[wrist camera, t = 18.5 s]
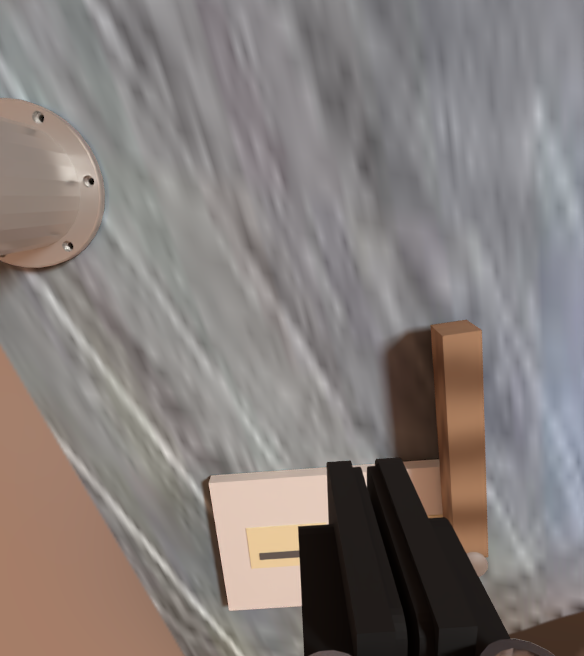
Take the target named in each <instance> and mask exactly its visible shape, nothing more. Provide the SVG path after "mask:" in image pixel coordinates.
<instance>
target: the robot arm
mask: <svg viewBox="0 0 584 656" xmlns="http://www.w3.org/2000/svg"><path fill="white" fill-rule="evenodd" d="M43 116H44V121H42V117H43ZM91 179H94V185H92V184H91ZM104 209H105V189H104V183H103V177H102V174H101V171H100V168H99V165H98V162H97V160H96V158H95V156H94V154H93V152H92V150H91V148H90V147H89V145H88V144H87V143H86V141H85V140H84V139H83V137H82V136H81V135H80V133H79V132H78V131H77V130H76V129H75V128H73V127H72V126H71V125H70V124H69V123H68V122H67V121H66V120H64V119H63V118H61V117H60V116H58V115H57V114H55V113H54V112H52V111H50V110H48V109H46V108H43V107H41V106H39V105H36V104H33V103H30V102H27V101H24V100H19V99H11V98H0V261H2V262H5V263H7V264H10V265H15V266H20V267H25V268H42V267H47V266H52V265H56V264H59V263H62V262H65V261H67V260H69V259H71V258H73V257H75V256H77V255H78V254H79V253H80V252H81V251H83V250H84V249H85V248H86V247H87V246H88V245H89V243H90V242H91V241H92V239H93V238H94V237H95V235H96V233H97V231H98V229H99V227H100V224H101V222H102V217H103V213H104ZM71 243H72V244H73V248H72V247H71ZM327 493H328V520H329V524H327V525H311V526H298V538H299V558H300V578H301V598H302V618H303V638H304V656H555V655H553V654H552V653H551V652H549V651H548V650H546V649H544V648H542V647H540V646H537V645H535V644H533V643H531V642H527V641H523V640H518V639H510V637H509V635H508V633H507V631H506V629H505V627H504V625H503V623H502V621H501V619H500V617H499V615H498V614H497V612H496V610H495V608H494V606H493V604H492V602H491V600H490V598H489V596H488V594H487V592H486V590H485V588H484V586H483V585H482V583H481V581H480V579H479V577H478V575H477V573H476V571H475V569H474V567H473V565H472V563H471V561H470V559H469V557H468V556H467V554H466V552H465V550H464V548H463V546H462V544H461V542H460V540H459V538H458V536H457V534H456V532H455V530H454V528H453V526H452V525H451V523H450V522H449V520H448V519H447V518H445V517H439V518H428V516H427V514H426V511H425V509H424V507H423V505H422V503H421V500H420V498H419V496H418V494H417V492H416V489H415V487H414V485H413V483H412V481H411V478H410V476H409V474H408V472H407V470H406V467H405V465H404V463H403V461H402V459H401V458H386V459H376V460H375V466H368V467H367V486H366V483H365V479H364V476H363V472H362V469H361V467H352V463H351V461H337V462H327Z"/></svg>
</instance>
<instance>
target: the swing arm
mask: <svg viewBox="0 0 584 656" xmlns="http://www.w3.org/2000/svg"><path fill="white" fill-rule="evenodd" d="M431 340H432V356H433V371H434V387H435V402H436V418H437V433H438V449H439V464H440V480H441V495H442V511H443V517H445V518H447V519H448V520H449V522H450V523H451V525H452V526H453V528H454V530H455V532H456V534H457V536H458V538H459V540H460V542H461V544H462V546H463V548H464V550H465V552H466V554H467V556H468V557H469V559H470V561H471V563H472V565H473V567H474V569H475V571H476V573H477V575H478V577H480V576H482V575H483V574H484V573H485V572H486V571H487V569H488V563H487V560H486V559H485V557H488V533H487V498H486V463H485V429H484V394H483V359H482V330H481V329H479V328H478V327H476V326H475V325H473V324H472V323H470V322H469V321H467V320H462V321H455V322H448V323H441V324H434V325H431Z"/></svg>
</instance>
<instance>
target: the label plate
mask: <svg viewBox="0 0 584 656" xmlns="http://www.w3.org/2000/svg"><path fill="white" fill-rule="evenodd" d="M403 463H404V465H405V467H406V470H407V472H408V474H409V476H410V478H411V481H412V483H413V485H414V487H415V489H416V492H417V494H418V496H419V498H420V500H421V503H422V505H423V507H424V509H425V511H426V514H427V516H428V518H439V517H443V511H442V495H441V480H440V464H439V459H434V460H420V461H406V462H403ZM368 466H375V464H364V465H352V467H361V469H362V472H363V476H364V479H365V483H366V486H367V467H368ZM209 488H210V495H211V501H212V507H213V513H214V519H215V525H216V532H217V538H218V544H219V550H220V556H221V562H222V569H223V575H224V581H225V587H226V593H227V599H228V605H229V611H231V610H246V609H262V608H277V607H293V606H302V598H301V578H300V558H299V538H298V526H311V525H327V524H329V520H328V493H327V467H322V468H308V469H295V470H281V471H267V472H253V473H239V474H225V475H211V477H210V480H209Z"/></svg>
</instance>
